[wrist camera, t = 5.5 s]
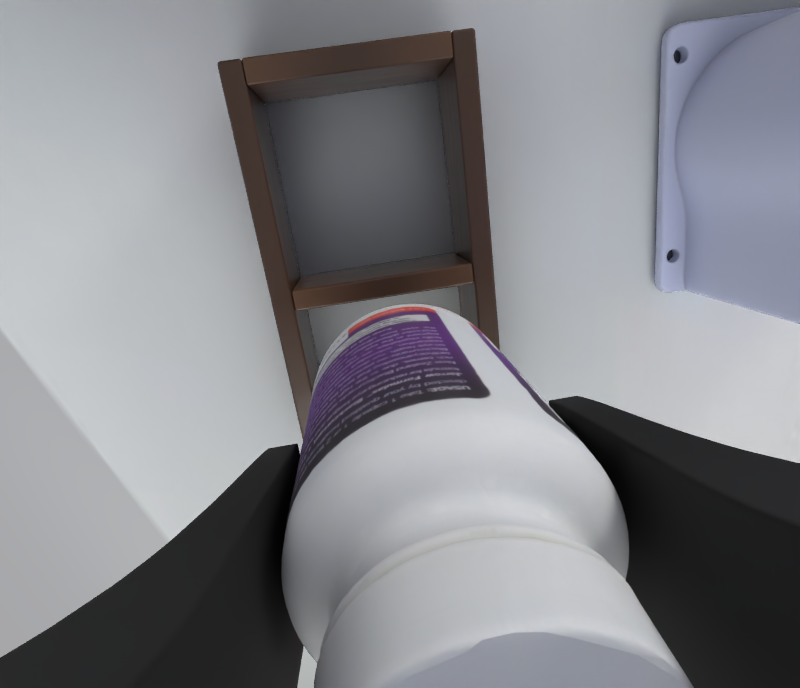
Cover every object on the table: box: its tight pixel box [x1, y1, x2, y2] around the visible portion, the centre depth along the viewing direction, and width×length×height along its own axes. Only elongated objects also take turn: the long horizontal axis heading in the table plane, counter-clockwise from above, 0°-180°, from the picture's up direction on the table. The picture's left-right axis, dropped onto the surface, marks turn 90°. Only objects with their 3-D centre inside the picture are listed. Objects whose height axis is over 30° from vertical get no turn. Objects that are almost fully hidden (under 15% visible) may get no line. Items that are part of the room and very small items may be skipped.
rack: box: [218, 28, 500, 440], centre depth 17 cm, size 7×14×3 cm, turn 8°
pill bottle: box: [281, 304, 694, 688], centre depth 9 cm, size 5×5×10 cm
